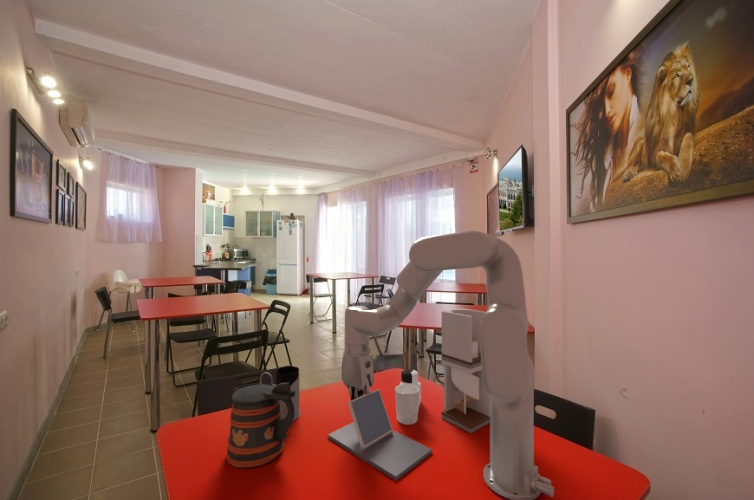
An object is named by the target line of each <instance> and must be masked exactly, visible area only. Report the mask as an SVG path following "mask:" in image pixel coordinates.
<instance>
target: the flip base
mask: <svg viewBox="0 0 754 500" xmlns="http://www.w3.org/2000/svg"><path fill="white" fill-rule="evenodd" d="M327 438H328V439H329V440H330V441H332V442H333V443H335V444H337V445H339V447H342V448H344V449H345V450H346V451H348V452H349V453H351V454H353V455H355V456H356V457H357V458H359V459H361V460H362V461H363V462H365V463H367V464H369V465H370V466H372V467H373V468H375V469H376V470H379V472H381V473H383V474H385V475H386V476H388V477H389V478H391V479H393V480H394V481H398V480H399V479H400V478H401V477H403V476H404V475H405V474H406V473H408V472H409V471H410V470H413V469H414V467H416V466H417V465H419V464H420V463H421V462H423V460H425V459H426V458H427V457H429V456H430V455H431V454H432V453H433V449H432V448H430V447H429V446H428V447H427V446H426V445H424V444H423V443H420V442H419V441H417V440H416V441H415V440H414V439H412V438H410V437H408V436H406V435H404V434H402V433H400V432H398V431H395V430H394V429H393V433H391V434H390V435H388V436H386V437H385V438H383V439H381V440H380V441H378V442H376V443H375V444H373V445H371V446H370V447H368V448H366V449H365V450H362V449H361V445H360V442H359V439H358V435H357V432H356V429H355V425H354V422H350V423H348V424H347V425H344V426H342V427H341V428H338V429H336V430H334V431H333V432H330V433H329V434H328V435H327Z"/></svg>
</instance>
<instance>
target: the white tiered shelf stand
mask: <svg viewBox="0 0 754 500" xmlns="http://www.w3.org/2000/svg"><path fill="white" fill-rule="evenodd" d="M485 313H486V311H482V310H477V309H470V308H462V307H461V308H455V309H449V310H442V311H441V364H442V365H443V411H441V419H442V420H445V421H446V422H448V423H450V424H452V425H454V426H455V427H458V428H460V429H462V430H463V431H465V432H468V433H470V434H472V433H474V432H476V431H478V430H479V429H481V428H483V427H485V426H486V425H488V424H489V425H490V394H489V393H488V391H487V389H486V388H485V385H484V382H483V377H482V367H481V353H480V339H479V327H480V322H481V319H482V317H483V315H484V314H485Z"/></svg>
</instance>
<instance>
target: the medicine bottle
mask: <svg viewBox="0 0 754 500" xmlns="http://www.w3.org/2000/svg"><path fill="white" fill-rule="evenodd" d="M400 374H401V376H400V377H401V378H400V382H399V385H401V384H411V385H415V386H417V387H418V388H419V407H418V409H419V408H420V405H421V402H422V382H421V381H419V372H418V371H417V370H415V369H411V368H409V369H408V368H407V369H403V370H402V371H401V373H400Z"/></svg>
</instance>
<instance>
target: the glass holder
mask: <svg viewBox="0 0 754 500" xmlns="http://www.w3.org/2000/svg"><path fill="white" fill-rule="evenodd" d="M265 374H267V375H268V376H269V377H270V380H271V381H270V383H271V386H274V387H276V386H277V385H278V384H280V383H287V382H289V383H290V389H291V391H295V396H293V397H291V400H292V402H293V405H294V419H293V421H295V420H297V419H298V418H300V416H301V413H302V412H301V411H300V368H299V367H297V366H294V365H293V366H292V365H290V366H282V367H279V368H277V369H276V370H275V384H274V378H273V375H272V374H271V373H270V372H267V371H266V372H263V373H262V374H260V376H259V385H260V384H263V383H262V377H263V376H264V375H265ZM280 406H281V415H280V417H281V419H284V418H286V417H287V414H288V408H287V405H286V404H285V402H283V401H282V400H280Z"/></svg>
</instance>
